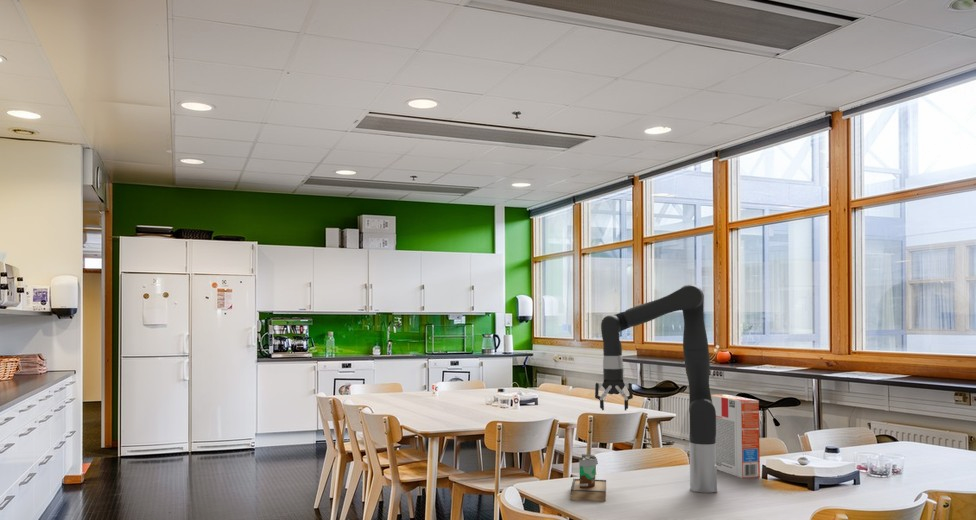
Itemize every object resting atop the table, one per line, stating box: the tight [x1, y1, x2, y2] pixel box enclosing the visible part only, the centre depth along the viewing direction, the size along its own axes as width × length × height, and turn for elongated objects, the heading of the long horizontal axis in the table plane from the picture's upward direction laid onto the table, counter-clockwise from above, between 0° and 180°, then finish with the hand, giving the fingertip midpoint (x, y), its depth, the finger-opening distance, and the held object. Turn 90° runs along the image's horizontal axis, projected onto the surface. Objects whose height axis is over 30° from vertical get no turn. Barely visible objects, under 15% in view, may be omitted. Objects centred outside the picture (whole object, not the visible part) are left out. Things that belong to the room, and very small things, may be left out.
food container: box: [578, 453, 599, 488], centre depth 277 cm, size 12×6×10 cm, turn 169°
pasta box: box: [711, 393, 761, 479], centre depth 318 cm, size 23×8×30 cm, turn 17°
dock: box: [570, 478, 607, 502], centre depth 277 cm, size 12×18×3 cm, turn 171°
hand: (614, 410), depth 297 cm, fingers open, 8 cm apart
